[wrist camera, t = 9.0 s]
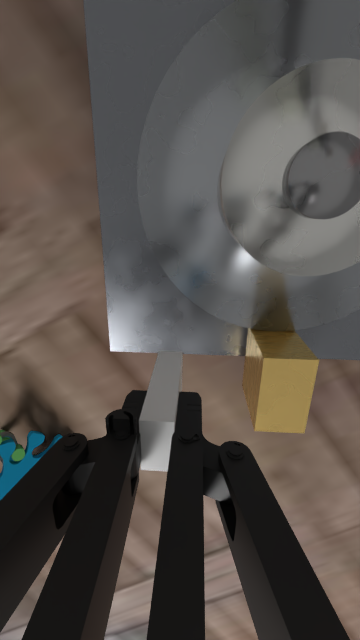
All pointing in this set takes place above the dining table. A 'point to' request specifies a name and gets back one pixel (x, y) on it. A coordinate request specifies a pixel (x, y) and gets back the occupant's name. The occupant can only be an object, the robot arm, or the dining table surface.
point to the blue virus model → (18, 457)
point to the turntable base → (122, 195)
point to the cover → (298, 172)
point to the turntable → (201, 192)
